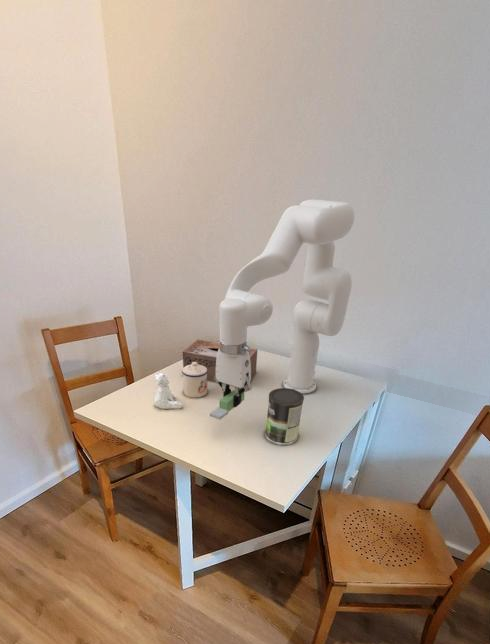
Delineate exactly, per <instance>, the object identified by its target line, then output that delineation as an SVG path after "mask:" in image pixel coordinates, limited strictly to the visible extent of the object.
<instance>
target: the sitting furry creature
mask: <svg viewBox="0 0 490 644" xmlns="http://www.w3.org/2000/svg"><path fill="white" fill-rule="evenodd" d="M154 379H155V383H156V384H157V388H156V394H155V395H154V399H153V403H154V405H155V407H156V408H159V409H162V410H180V409H182V402H181V401H178V400H175V399H174V398H175V394H174V393H173V392H172V390H171V389H170V386H169V384H170V381H169V379H168V376H166V375H165V374H164V372H159V373H155V374H154Z"/></svg>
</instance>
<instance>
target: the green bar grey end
mask: <svg viewBox="0 0 490 644" xmlns="http://www.w3.org/2000/svg"><path fill="white" fill-rule="evenodd" d="M234 395H235V388H234V389H232V390H231V392H230V393H229V394H227V395H226V396H225V397H223V396H222V398H220V399H219V407H218V406H217V407H216V408H215V409H213V410H212V411H211V412H209V417H211V418H214V419H216V420H220V421H221V420H222V419H223V418H225V417H226V416H228V415H229V412H231V411H232V410H233V409H235V407H234V406H233V403H234V398H233V396H234ZM244 401H245V392H243V393H242V394H241V403H242V402H244Z"/></svg>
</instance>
